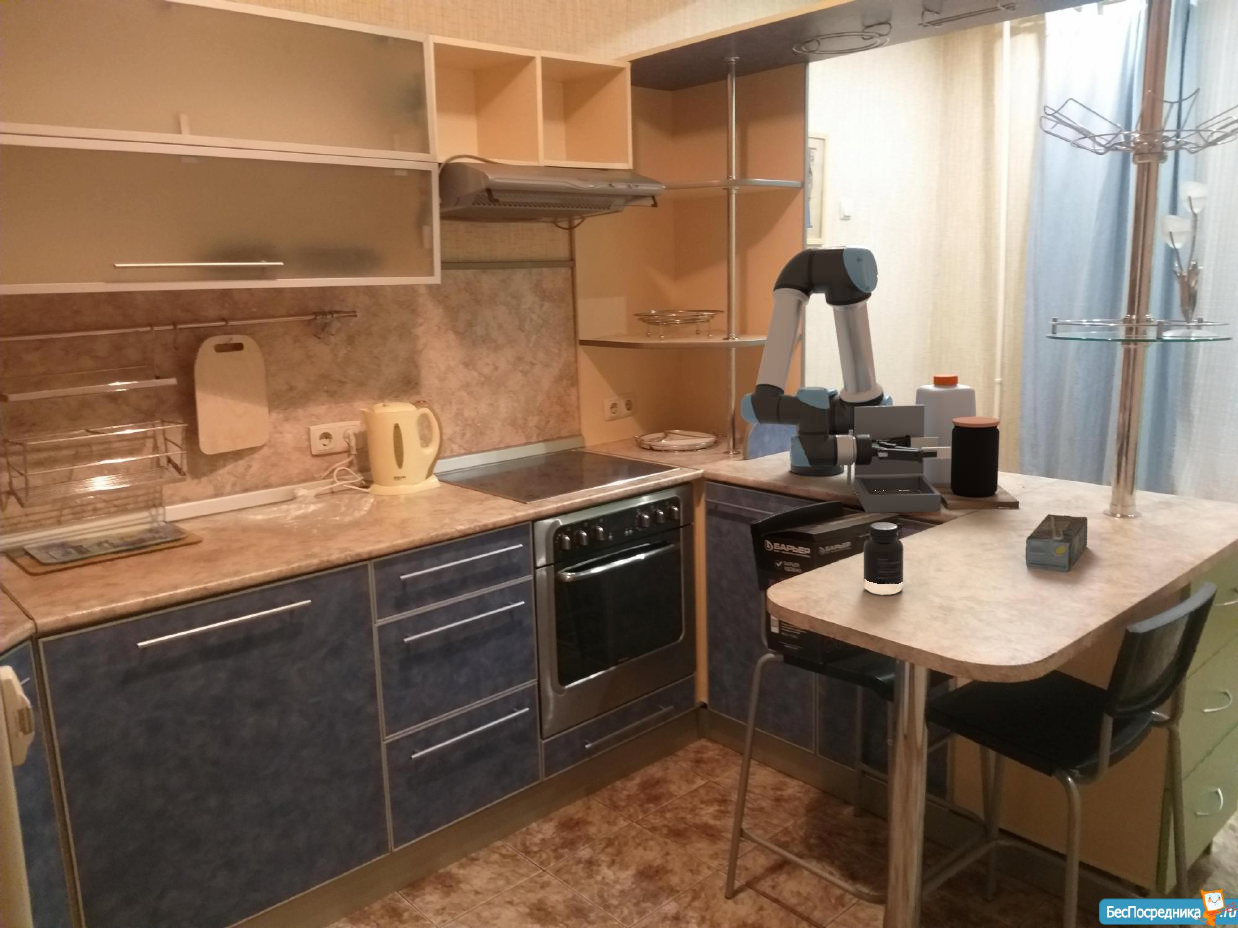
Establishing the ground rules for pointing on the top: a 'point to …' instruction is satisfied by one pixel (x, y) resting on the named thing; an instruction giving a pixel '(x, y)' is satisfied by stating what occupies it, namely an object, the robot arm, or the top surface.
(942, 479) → the plastic bottle
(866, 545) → the supplement bottle
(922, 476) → the equipment case
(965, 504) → the walnut board
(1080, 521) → the beverage carton
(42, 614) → the top surface
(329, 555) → the top surface
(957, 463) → the coffee jar
